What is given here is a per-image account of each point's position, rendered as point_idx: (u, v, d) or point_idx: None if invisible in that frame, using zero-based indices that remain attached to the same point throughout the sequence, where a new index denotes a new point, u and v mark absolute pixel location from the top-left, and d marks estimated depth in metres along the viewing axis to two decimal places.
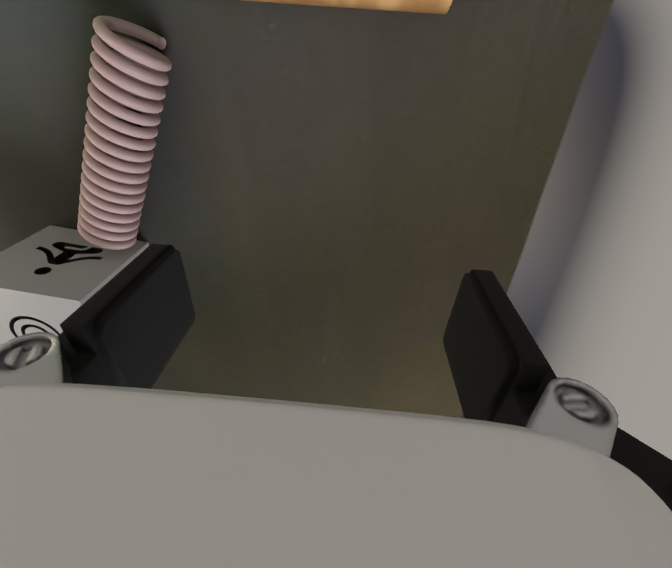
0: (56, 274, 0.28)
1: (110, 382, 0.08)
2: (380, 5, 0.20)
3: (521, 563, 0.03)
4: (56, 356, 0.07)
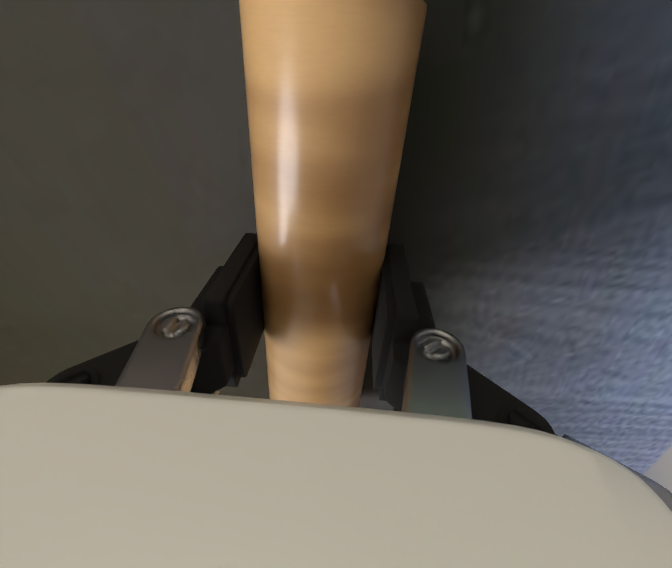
0: None
1: (231, 354, 0.09)
2: None
3: (521, 563, 0.03)
4: (194, 337, 0.07)
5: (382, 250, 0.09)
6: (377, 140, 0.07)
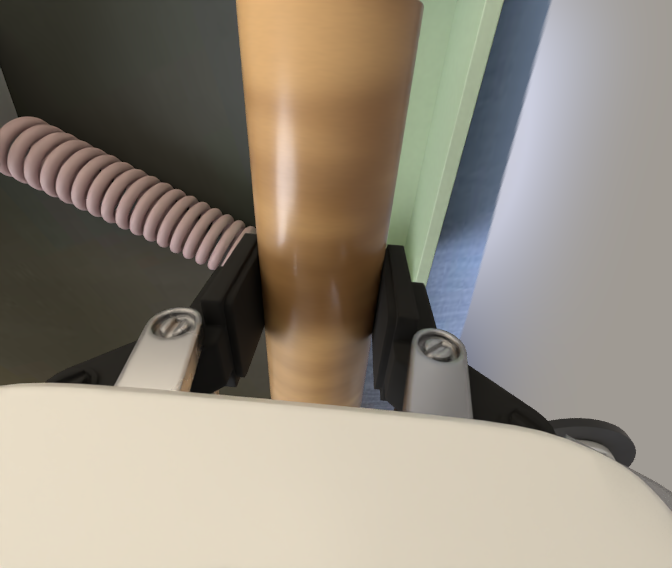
0: None
1: (229, 354, 0.09)
2: None
3: (521, 563, 0.03)
4: (193, 337, 0.07)
5: (382, 250, 0.09)
6: (375, 140, 0.07)
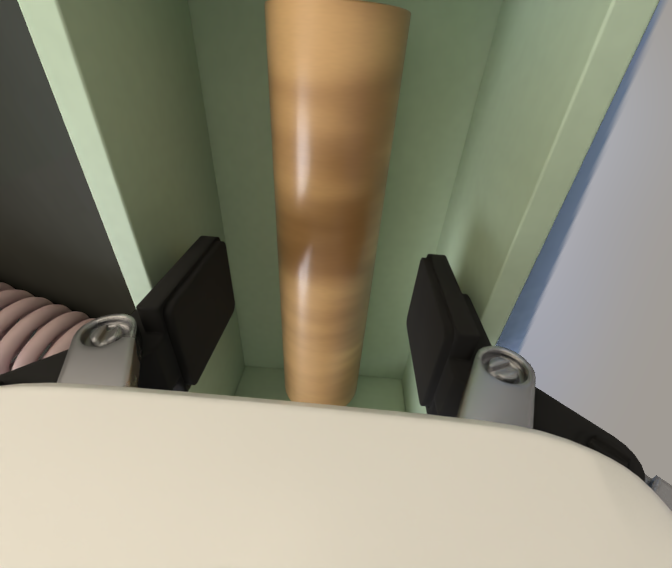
0: None
1: (174, 362, 0.09)
2: None
3: (521, 563, 0.03)
4: (130, 340, 0.07)
5: (379, 213, 0.11)
6: (373, 119, 0.09)
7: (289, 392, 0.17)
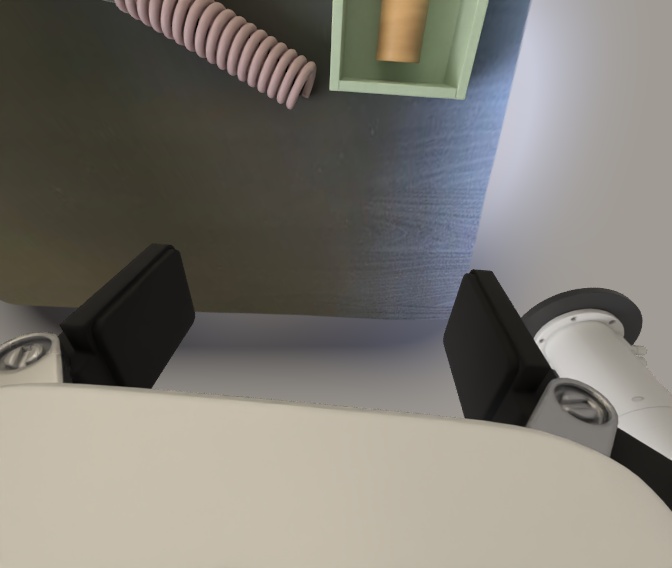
0: None
1: (110, 381, 0.08)
2: (381, 1, 0.28)
3: (521, 563, 0.03)
4: (56, 356, 0.07)
5: None
6: None
7: (381, 52, 0.29)
